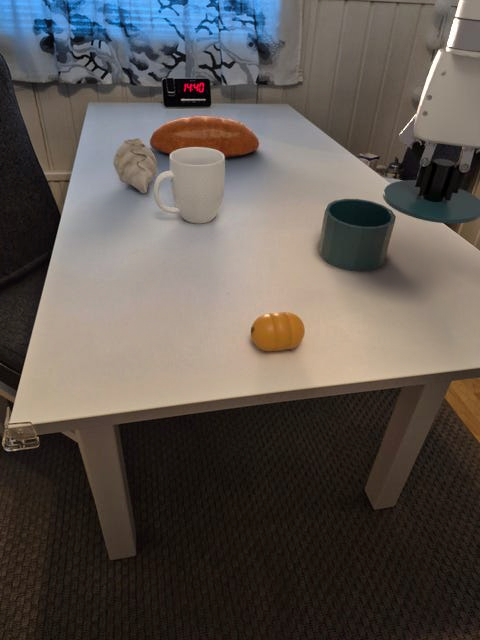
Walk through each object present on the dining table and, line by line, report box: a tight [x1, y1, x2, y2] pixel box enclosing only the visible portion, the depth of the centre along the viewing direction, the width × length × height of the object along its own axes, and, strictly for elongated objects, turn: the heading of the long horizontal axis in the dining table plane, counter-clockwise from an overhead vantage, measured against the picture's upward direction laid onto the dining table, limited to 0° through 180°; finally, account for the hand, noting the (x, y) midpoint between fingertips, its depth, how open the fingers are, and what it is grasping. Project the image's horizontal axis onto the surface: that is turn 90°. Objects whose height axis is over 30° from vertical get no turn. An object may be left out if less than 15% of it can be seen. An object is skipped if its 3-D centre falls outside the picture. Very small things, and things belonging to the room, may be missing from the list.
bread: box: [149, 115, 260, 158], centre depth 128 cm, size 23×32×9 cm
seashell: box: [112, 138, 158, 195], centre depth 105 cm, size 10×15×10 cm
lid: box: [382, 158, 480, 225], centre depth 61 cm, size 13×13×6 cm
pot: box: [318, 198, 397, 272], centre depth 83 cm, size 12×12×8 cm
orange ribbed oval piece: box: [250, 311, 306, 352], centre depth 62 cm, size 8×5×5 cm
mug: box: [152, 147, 226, 224], centre depth 91 cm, size 15×11×13 cm
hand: (434, 193), depth 62 cm, fingers closed on lid, 2 cm apart
